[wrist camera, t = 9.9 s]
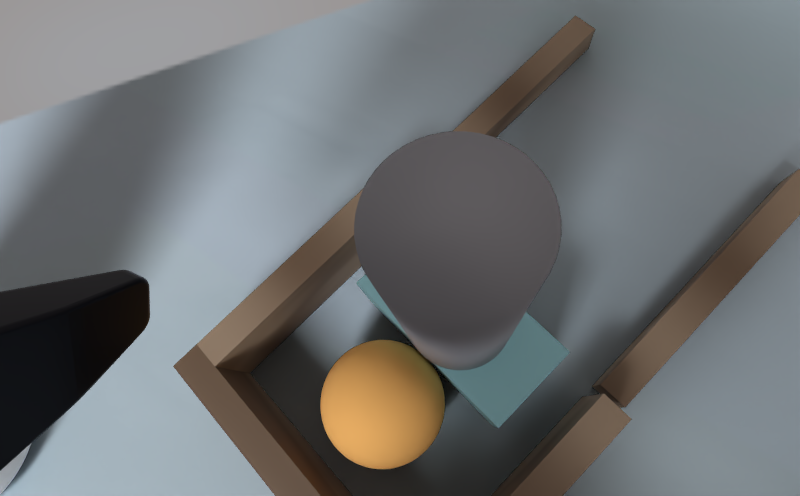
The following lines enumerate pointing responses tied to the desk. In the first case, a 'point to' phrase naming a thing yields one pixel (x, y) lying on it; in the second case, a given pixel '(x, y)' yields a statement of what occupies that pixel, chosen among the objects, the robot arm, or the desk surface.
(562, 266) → the desk surface
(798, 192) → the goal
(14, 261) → the desk surface
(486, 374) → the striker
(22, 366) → the robot arm
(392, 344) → the ball
